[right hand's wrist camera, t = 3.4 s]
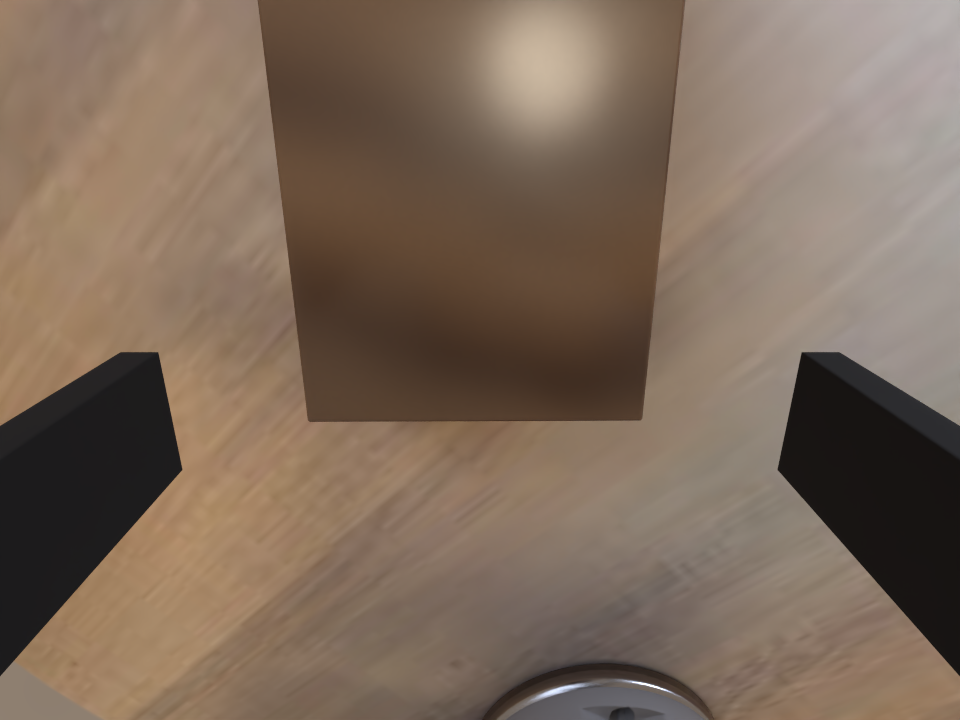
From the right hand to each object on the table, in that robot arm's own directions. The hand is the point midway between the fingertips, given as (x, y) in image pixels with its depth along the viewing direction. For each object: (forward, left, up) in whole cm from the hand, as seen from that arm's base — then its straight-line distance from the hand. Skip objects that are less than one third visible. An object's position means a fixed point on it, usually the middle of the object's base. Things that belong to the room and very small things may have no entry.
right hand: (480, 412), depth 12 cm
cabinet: (+3, +4, -14) cm, 16 cm away
